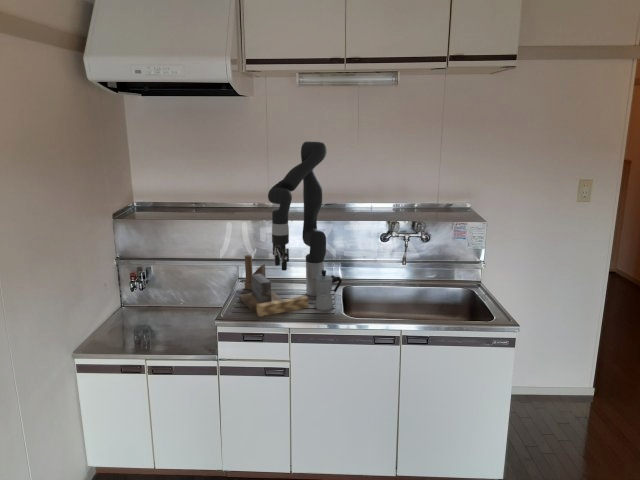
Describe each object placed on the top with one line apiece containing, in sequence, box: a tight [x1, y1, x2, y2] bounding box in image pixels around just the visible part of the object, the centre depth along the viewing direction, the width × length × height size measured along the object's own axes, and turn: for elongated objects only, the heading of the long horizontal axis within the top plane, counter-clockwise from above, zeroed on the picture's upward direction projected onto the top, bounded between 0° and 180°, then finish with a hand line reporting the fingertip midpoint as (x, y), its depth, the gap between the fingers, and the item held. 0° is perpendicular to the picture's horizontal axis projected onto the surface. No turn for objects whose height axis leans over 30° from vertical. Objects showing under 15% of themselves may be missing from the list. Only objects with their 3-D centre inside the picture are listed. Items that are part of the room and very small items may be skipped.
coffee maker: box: [310, 269, 343, 312], centre depth 226 cm, size 15×9×18 cm, turn 101°
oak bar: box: [256, 295, 309, 317], centre depth 224 cm, size 24×4×5 cm, turn 114°
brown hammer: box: [244, 254, 266, 291], centre depth 250 cm, size 4×11×18 cm, turn 68°
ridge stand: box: [239, 273, 283, 312], centre depth 234 cm, size 16×18×12 cm
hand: (280, 267), depth 220 cm, fingers open, 8 cm apart
